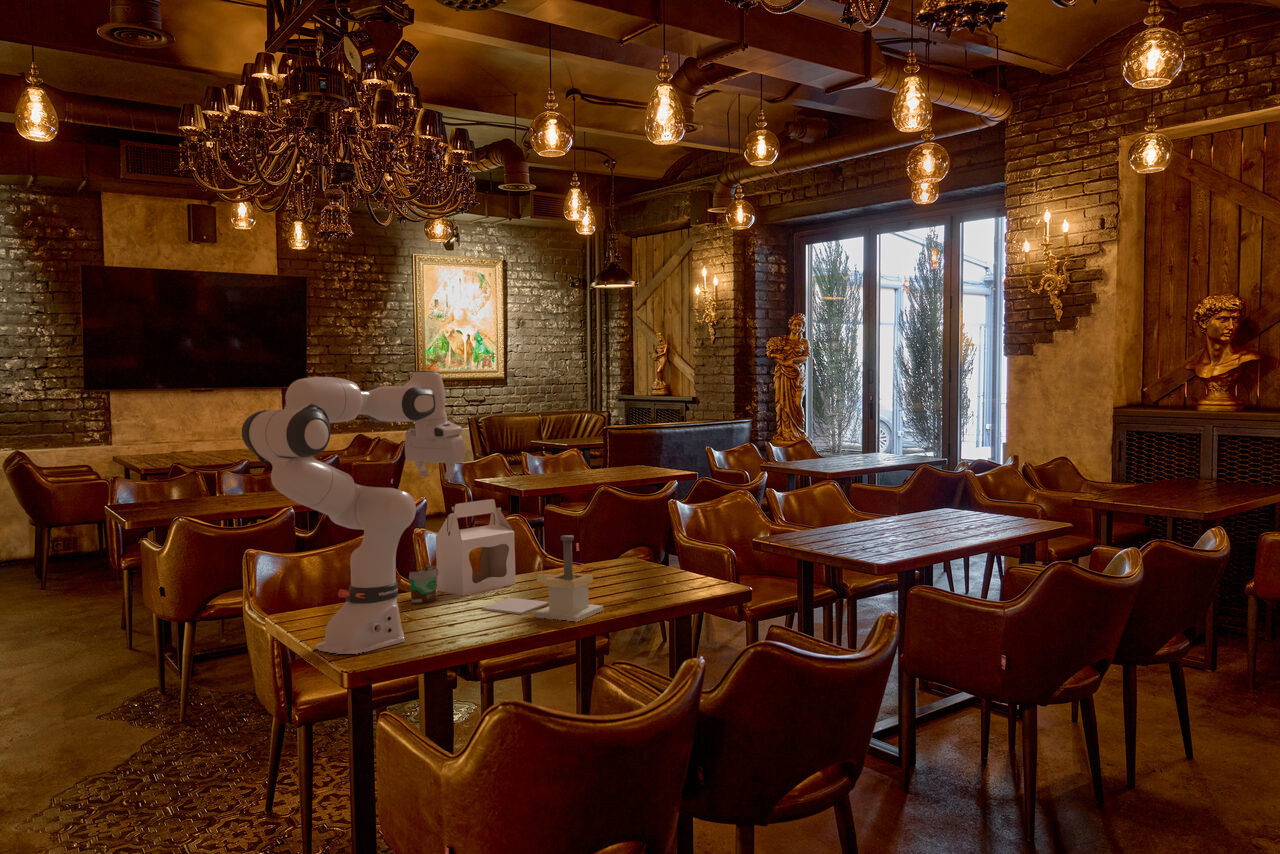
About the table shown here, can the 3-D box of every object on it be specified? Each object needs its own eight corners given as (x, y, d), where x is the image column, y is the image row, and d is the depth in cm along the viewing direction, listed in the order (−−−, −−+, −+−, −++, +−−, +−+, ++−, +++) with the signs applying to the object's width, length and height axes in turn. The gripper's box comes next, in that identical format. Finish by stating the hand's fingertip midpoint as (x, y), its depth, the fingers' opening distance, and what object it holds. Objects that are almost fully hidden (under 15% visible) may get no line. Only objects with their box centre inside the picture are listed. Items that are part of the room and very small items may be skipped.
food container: (428, 606, 266) (428, 572, 266) (409, 606, 268) (408, 572, 267) (446, 597, 278) (445, 565, 278) (427, 596, 280) (426, 564, 279)
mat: (521, 614, 254) (521, 612, 254) (482, 609, 261) (482, 607, 261) (549, 604, 266) (549, 602, 266) (511, 599, 273) (511, 597, 273)
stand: (576, 622, 244) (575, 541, 243) (534, 617, 251) (532, 538, 250) (603, 610, 257) (601, 533, 256) (562, 606, 263) (560, 531, 262)
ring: (573, 589, 247) (573, 581, 247) (528, 584, 254) (528, 577, 254) (593, 582, 255) (592, 575, 255) (548, 577, 263) (548, 571, 263)
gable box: (490, 579, 305) (488, 496, 304) (516, 584, 296) (514, 499, 295) (436, 591, 288) (433, 503, 287) (462, 596, 279) (459, 506, 278)
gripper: (397, 429, 253) (402, 478, 255) (450, 431, 242) (454, 481, 244) (414, 426, 258) (418, 473, 260) (466, 427, 247) (471, 477, 249)
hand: (436, 477), depth 252 cm, fingers open, 8 cm apart
